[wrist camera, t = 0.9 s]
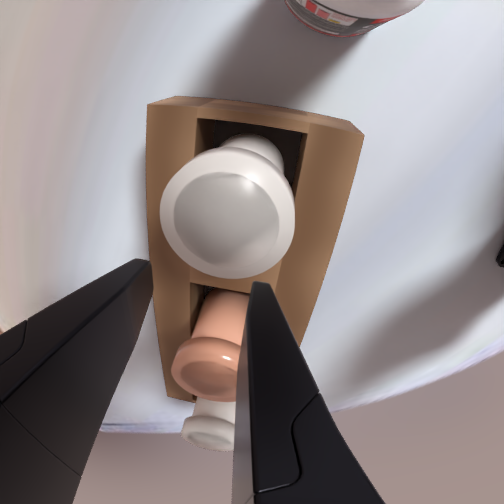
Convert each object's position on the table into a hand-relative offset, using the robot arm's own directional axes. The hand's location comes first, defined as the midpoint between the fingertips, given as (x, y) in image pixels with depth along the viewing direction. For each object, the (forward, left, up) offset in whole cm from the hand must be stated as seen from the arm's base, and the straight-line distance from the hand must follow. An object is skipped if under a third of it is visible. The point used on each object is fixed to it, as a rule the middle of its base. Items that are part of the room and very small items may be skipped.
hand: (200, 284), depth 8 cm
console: (0, +9, -12) cm, 15 cm away
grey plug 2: (0, +19, -9) cm, 21 cm away
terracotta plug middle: (0, +10, -9) cm, 13 cm away
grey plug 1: (0, 0, -9) cm, 9 cm away
